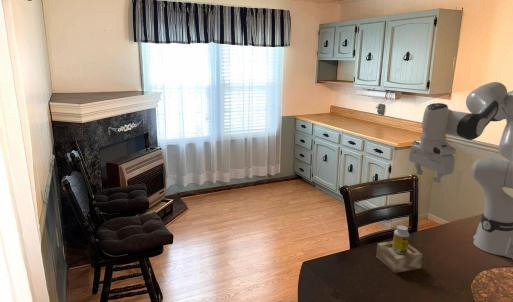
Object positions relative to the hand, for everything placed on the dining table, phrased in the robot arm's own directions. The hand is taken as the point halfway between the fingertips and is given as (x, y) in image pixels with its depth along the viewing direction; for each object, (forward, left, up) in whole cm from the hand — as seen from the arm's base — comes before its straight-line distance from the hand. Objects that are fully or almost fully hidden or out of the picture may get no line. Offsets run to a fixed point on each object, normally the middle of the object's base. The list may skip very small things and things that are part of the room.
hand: (427, 178), depth 142 cm
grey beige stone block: (+14, +6, -32) cm, 36 cm away
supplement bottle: (+14, +6, -28) cm, 32 cm away
